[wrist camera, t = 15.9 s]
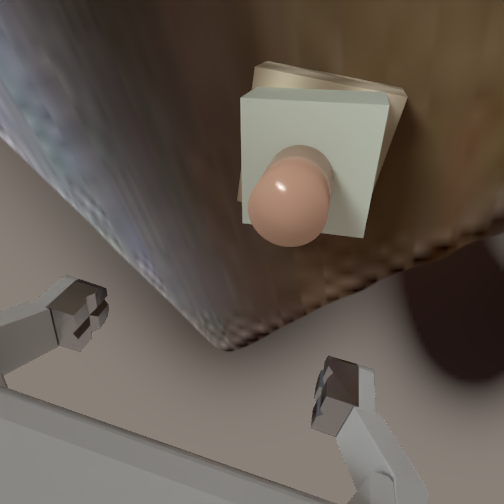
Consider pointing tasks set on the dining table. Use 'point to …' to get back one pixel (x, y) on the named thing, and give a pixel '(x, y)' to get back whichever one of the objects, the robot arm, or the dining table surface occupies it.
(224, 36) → the dining table surface
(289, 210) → the terracotta cylinder
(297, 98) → the tower top block
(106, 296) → the robot arm
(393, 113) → the tower base block
